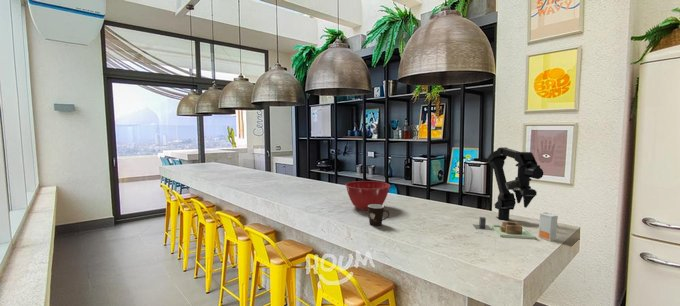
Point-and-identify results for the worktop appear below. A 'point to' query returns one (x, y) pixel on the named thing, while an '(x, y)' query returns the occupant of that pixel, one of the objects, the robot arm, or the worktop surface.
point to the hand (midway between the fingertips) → (521, 205)
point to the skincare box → (548, 226)
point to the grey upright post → (482, 224)
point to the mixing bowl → (367, 193)
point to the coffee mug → (376, 214)
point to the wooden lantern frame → (511, 228)
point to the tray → (525, 234)
